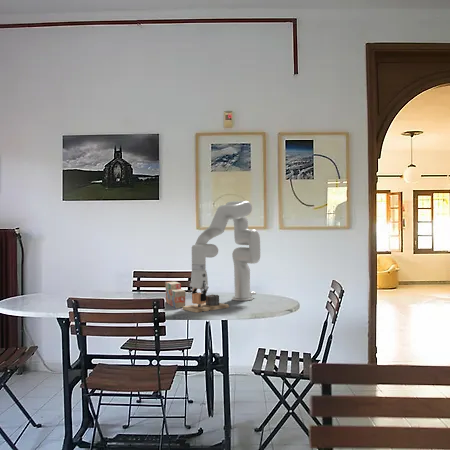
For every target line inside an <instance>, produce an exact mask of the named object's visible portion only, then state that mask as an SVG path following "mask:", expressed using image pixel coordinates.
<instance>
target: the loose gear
mask: <svg viewBox="0 0 450 450" xmlns="http://www.w3.org/2000/svg"><path fill="white" fill-rule="evenodd" d="M204 303H206V301H201V292H197V293H194V294H192V293H191V304H192V305H196V304H204Z"/></svg>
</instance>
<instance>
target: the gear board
mask: <svg viewBox="0 0 450 450" xmlns="http://www.w3.org/2000/svg"><path fill="white" fill-rule="evenodd" d="M228 308H230V304H227V303H223V302H220V295H218V294H206V303H204V304H190V305H185V306H183V307H182V310H184V311H187V312H188V311H189V312H192V313H203V312H202V311H204V312H209V310H210V311H215V310H222V309H228Z"/></svg>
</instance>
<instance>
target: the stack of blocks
mask: <svg viewBox="0 0 450 450" xmlns="http://www.w3.org/2000/svg"><path fill="white" fill-rule="evenodd" d="M165 303H167V304H168V305H169V304H170V305H169V306H172V308H174V309H178V308H183V306H186V290H184V289H183V288H182V284H181V283H180V282H178V281H165Z"/></svg>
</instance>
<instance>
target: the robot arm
mask: <svg viewBox="0 0 450 450" xmlns="http://www.w3.org/2000/svg"><path fill="white" fill-rule="evenodd" d="M252 211H253V206H252V204H251V202H250V201H248V200H239V201H238V200H236V201H235V200H233V201H228V202H227V203H226V204H223V205H219V206H218V207H217V209H216V210H215V214H214V215H213V218H212V220H211V223H210V225H209V226H208V227H207V228H205V230H204V231H202V232H201V233H200V234H199V235H198V238H197V239H196V242H195V244H193V245H192V246H191V275H190V283H189V287H190V289H191V290H190V292H191V295H192V294H194V293H198V289H199V290H200V293H201V301H206V295H207V292H208V290H209V281H208V272H207V269H206V268H207V267H206V266H207V265H206V260H207V259H206V258H215V257H217V255H218V254H219V248H218V246H217V245H216V244H213V243H208V242H210V240H212V239H213V238H217V237H218V236H220V235H222V234H223V233H225V229H226V227H227V224H228V222H229V220H232V222H233V234H234V242H235V244H236V245H238V246H241V247H236V248H235V249H233V251H232V261H233V267H234V270H233V271H234V272H233V273H234V275H233V276H234V278H233V279H234V281H233V282H234V283H233V284H234V295H233V296H232V298H231V299H232V301H238V302H239V301H241V302H243V301H246V302H247V301H252V300H253V299H254V297H253V296H255V295H257V292H256V291H251V272H250V271H251V270H250V267H249V264H254V265H255V264H257V263H259V261H260V259H261V236H260V234H259V231H258V230H256V229H249V222H248V219H247V216H249V215H250V214H251V213H252ZM242 246H243V247H242ZM244 246H247V247H244Z"/></svg>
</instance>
